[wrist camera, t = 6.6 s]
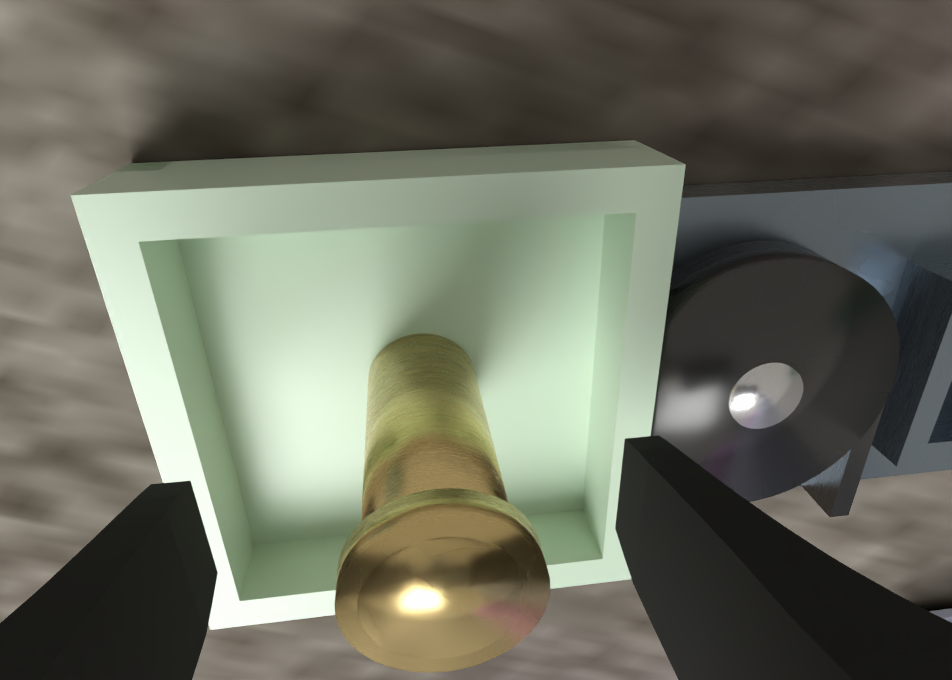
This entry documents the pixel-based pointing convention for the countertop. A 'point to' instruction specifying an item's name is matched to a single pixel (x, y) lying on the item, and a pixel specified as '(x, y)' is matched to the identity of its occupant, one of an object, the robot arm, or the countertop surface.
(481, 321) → the tray
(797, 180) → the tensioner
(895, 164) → the countertop surface
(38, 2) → the countertop surface
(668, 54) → the countertop surface
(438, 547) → the pin
